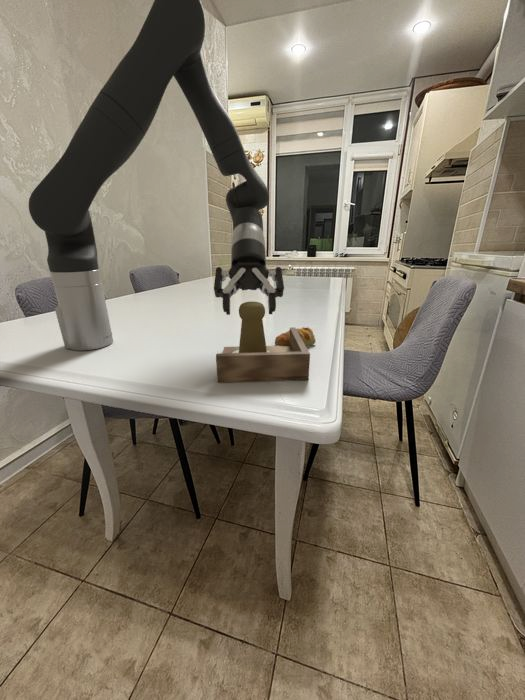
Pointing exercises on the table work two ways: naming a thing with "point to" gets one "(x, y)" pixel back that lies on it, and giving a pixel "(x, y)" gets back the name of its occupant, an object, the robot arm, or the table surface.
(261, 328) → the cork
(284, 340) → the pastry
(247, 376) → the corner tray
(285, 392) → the table surface
